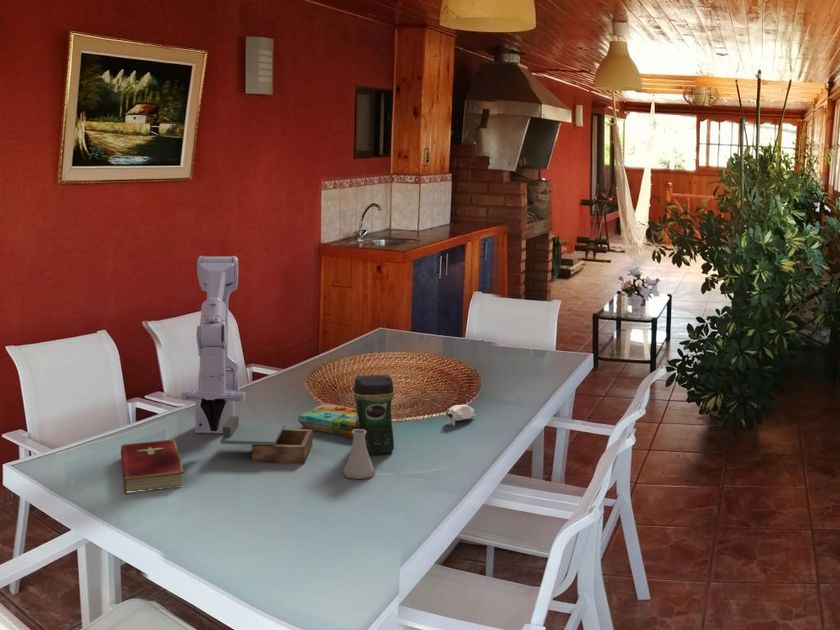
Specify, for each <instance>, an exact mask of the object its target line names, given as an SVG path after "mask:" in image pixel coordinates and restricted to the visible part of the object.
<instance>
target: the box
mask: <svg viewBox="0 0 840 630" xmlns="http://www.w3.org/2000/svg"><path fill="white" fill-rule="evenodd" d="M312 447H313V430H312V429H307V428H303V429H302V428H298V429H297V428H284V429H283V431H282V433H281V435H280V436H279V438H278V440H277V442H276V444H275V445H251V452H252V453H251V455H252V458H251V460H252V463H265V464H266V463H270V464H271V463H272V464H273V463H275V464H276V463H277V464H300V465H301V464H305V463H306V462H307V459H308V457H309V455H310V452H311V449H312Z"/></svg>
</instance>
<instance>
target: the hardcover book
mask: <svg viewBox="0 0 840 630" xmlns="http://www.w3.org/2000/svg"><path fill="white" fill-rule="evenodd" d="M120 457H121V459H120V460H121V467H122V468H121V469H122V470H121V471H122V480H123V489H124V493H125V492H127V491H138V490H149V489H159V488H168V487H177V486H182V487H183V479H182V478H183V475H184V473H185V472H184V468H183V464H182V461H181V458H180V453H179V449H178V446H177V443H176V439H166V440H155V441H144V442H135V443H127V444H121V446H120Z"/></svg>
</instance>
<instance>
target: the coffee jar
mask: <svg viewBox="0 0 840 630" xmlns="http://www.w3.org/2000/svg"><path fill="white" fill-rule="evenodd" d="M394 394H395V389H394V382H393V379H392V376H390V375H389V374H368V375H357V376H355V380H354V386H353V398H354V399H355V405H356V406H355V409H356V423H355V429H364V430H366V434H365V442H366V448H367V451H368V454H369V456H371V455H372V456H373V455H382V454H389V453H392V451H393V450H394V448H395V444H394V443H395V440H394V430H393V420H392V419H393V418H392V400H393V398H394Z"/></svg>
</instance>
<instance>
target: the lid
mask: <svg viewBox="0 0 840 630" xmlns="http://www.w3.org/2000/svg"><path fill="white" fill-rule="evenodd" d="M283 429H285V423H283V424H282V423H258V422H257V423H255V422H253V423H249V422H240V421H239V416H236V415H235V416H231V417H230V418H229V420H228V421H227V422H226V423H225V425H224V426H223V433H222V437H221V439H220V444H221V445H251V446H252V445H275V444H276V442H277V440H278V438H279V436H280V435H281V433H282V431H283Z"/></svg>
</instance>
